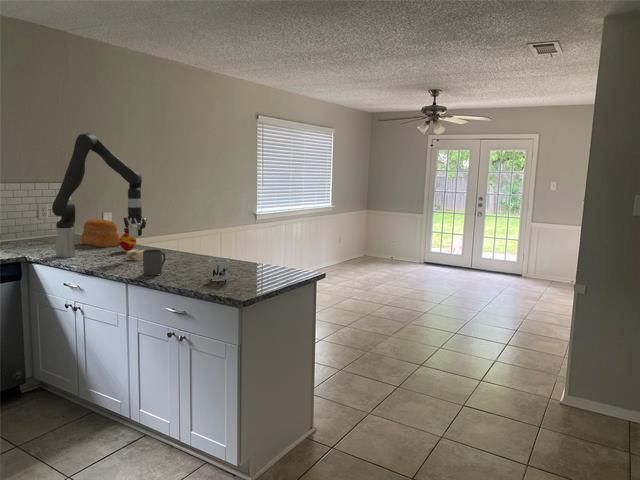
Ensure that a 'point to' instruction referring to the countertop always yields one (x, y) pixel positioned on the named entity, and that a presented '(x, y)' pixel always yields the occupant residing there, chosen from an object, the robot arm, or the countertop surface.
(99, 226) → the bread
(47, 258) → the countertop surface
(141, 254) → the oak block
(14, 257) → the countertop surface
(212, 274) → the mug
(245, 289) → the countertop surface
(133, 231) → the sage block
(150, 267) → the mug
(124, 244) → the potion bottle
